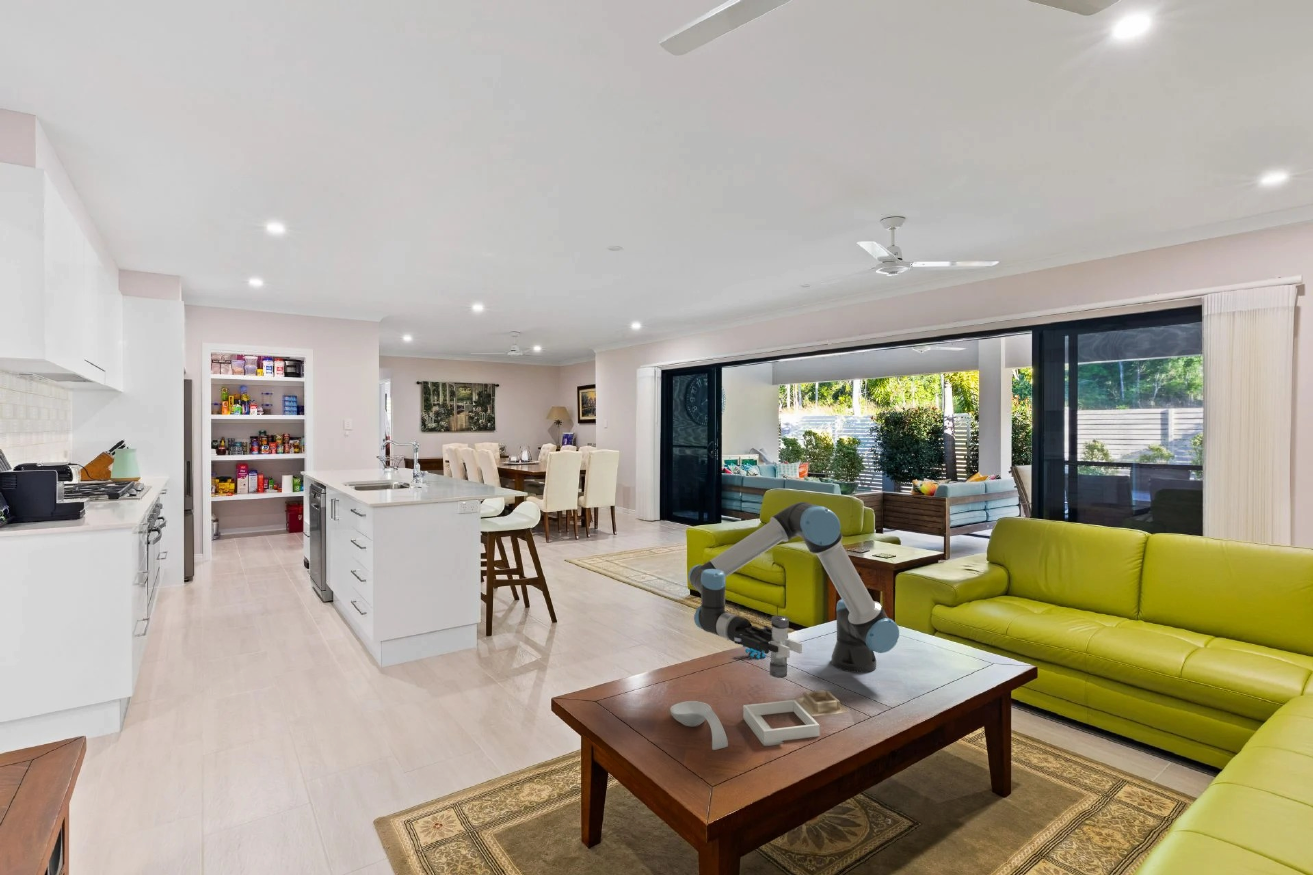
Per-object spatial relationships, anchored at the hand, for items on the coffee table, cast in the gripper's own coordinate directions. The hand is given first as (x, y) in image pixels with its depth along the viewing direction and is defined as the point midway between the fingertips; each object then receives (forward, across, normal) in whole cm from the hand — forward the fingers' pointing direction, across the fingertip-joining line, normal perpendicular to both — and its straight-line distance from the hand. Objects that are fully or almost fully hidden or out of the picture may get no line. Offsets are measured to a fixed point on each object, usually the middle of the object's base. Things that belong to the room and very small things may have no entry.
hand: (794, 650), depth 175 cm
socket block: (-6, -19, -24) cm, 31 cm away
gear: (-48, -36, -24) cm, 65 cm away
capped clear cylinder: (-6, 0, -8) cm, 10 cm away
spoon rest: (-19, +18, -24) cm, 36 cm away
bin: (-5, 0, -24) cm, 24 cm away
